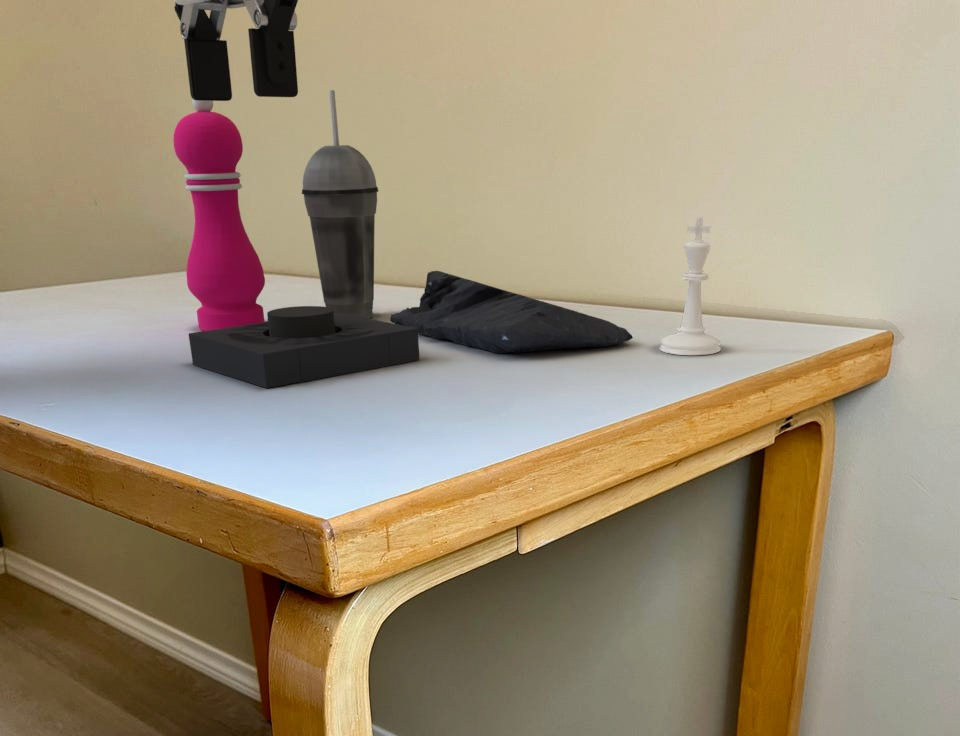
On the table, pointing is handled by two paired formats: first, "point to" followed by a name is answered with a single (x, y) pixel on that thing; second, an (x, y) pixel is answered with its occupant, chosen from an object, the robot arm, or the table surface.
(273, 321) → the dark gray cylinder
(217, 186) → the pepper mill
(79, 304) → the table surface
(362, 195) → the beverage cup
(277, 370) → the base pad
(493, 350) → the black fabric pouch
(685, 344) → the chess piece
